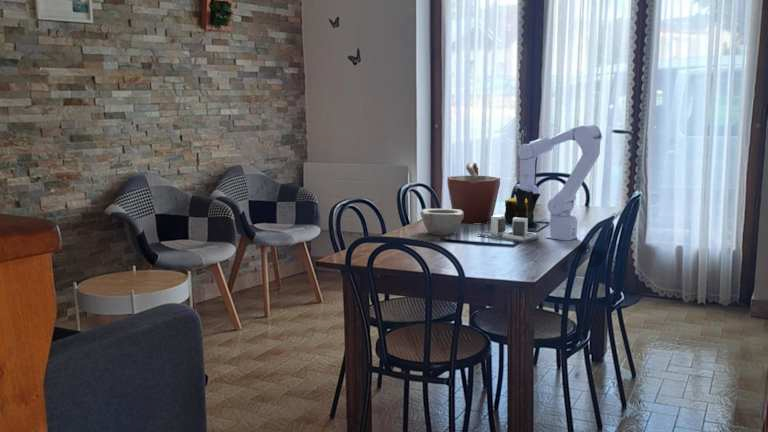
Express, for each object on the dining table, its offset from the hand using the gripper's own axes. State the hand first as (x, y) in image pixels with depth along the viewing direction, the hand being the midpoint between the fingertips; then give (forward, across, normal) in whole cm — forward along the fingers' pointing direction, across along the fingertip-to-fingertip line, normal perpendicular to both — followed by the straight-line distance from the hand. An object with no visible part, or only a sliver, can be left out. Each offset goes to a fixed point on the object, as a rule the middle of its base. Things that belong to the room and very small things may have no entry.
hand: (526, 209), depth 278 cm
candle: (+10, +22, -9) cm, 25 cm away
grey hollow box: (+9, -5, +10) cm, 15 cm away
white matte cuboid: (+8, -10, +8) cm, 15 cm away
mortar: (+10, +10, +31) cm, 34 cm away
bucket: (+10, +33, +8) cm, 35 cm away
